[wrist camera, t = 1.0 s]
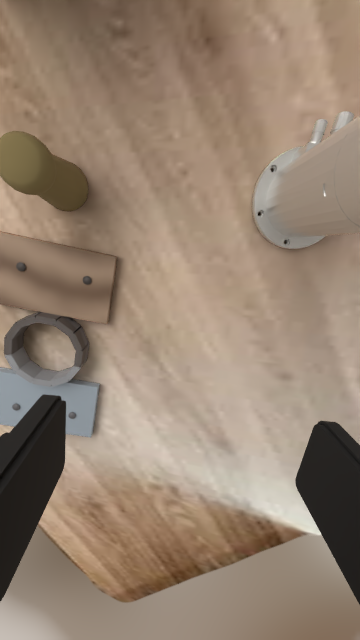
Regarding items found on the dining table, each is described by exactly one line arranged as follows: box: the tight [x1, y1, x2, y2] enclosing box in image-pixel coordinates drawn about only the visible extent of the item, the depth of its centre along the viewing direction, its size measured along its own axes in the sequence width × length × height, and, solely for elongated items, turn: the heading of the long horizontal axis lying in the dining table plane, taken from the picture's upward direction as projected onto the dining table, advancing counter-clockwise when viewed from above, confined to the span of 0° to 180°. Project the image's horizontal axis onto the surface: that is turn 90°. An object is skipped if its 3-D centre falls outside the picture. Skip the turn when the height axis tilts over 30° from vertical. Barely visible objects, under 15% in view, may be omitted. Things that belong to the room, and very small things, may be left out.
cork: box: [0, 131, 88, 211], centre depth 27 cm, size 6×6×11 cm
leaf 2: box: [0, 347, 100, 437], centre depth 40 cm, size 14×16×3 cm
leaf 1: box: [0, 232, 118, 367], centre depth 36 cm, size 17×16×3 cm
